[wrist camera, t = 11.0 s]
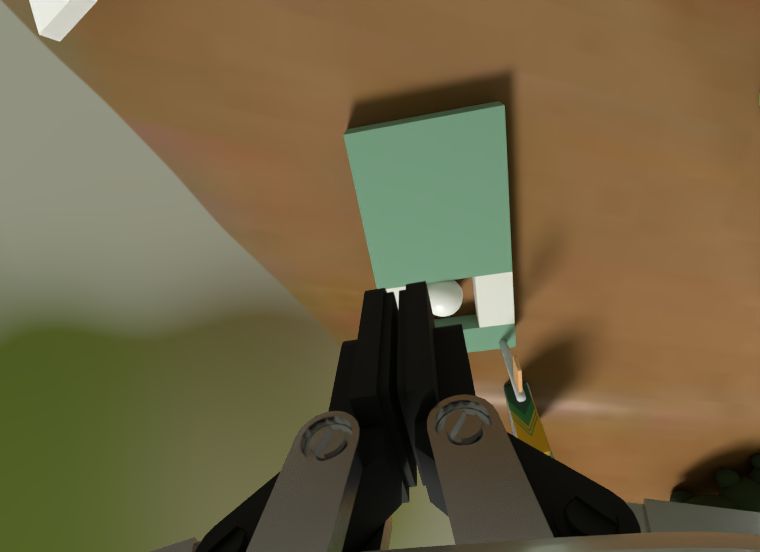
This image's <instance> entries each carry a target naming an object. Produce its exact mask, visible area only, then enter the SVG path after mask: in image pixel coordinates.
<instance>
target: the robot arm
mask: <svg viewBox="0 0 760 552" xmlns="http://www.w3.org/2000/svg"><path fill="white" fill-rule="evenodd" d="M416 463H417V465H416ZM417 466H418V469H419V473H420V477H421V480H422V484H423V485H424V486H425V485H426V488H427V491H428V495H429V499H430V502H432V503H433V504H434V505H435V506H436V507H438V508H439V509H440V510H441V511H442V512H444V513H445V514H446V515H447V516H448V517H449V519H450V524H451V528H452V532H453V536H454V540H455V544H456V545H446V546H434V547H433V546H432V547H419V548H405V549H392V550H389V544H390V538H391V532H392V518H391V515H392V514H393V513H394V512H395V511H396V509H398V507H400V505H401V504H402V503H406V502H409V487H415V486H417ZM151 552H760V512H752V511H743V510H735V509H727V508H719V507H710V506H702V505H694V504H685V503H677V502H669V501H660V500H652V499H644V501H643V504H636V503H628V502H624V500H622V499H621V498H620V497H618V496H617V495H615V494H614V493H613V492H611V491H610V490H608V489H606V488H605V487H603V486H601V485H599V484H597V483H596V482H594V481H592V480H590V479H589V478H587V477H585V476H583V475H582V474H580V473H578V472H576V471H575V470H573V469H571V468H569V467H568V466H566V465H564V464H562V463H560V462H559V461H557V460H555V459H553V458H552V457H550V456H548V455H546V454H545V453H543V452H541V451H539V450H538V449H536V448H534V447H532V446H531V445H529V444H527V443H525V442H524V441H522V440H520V439H518V438H516V437H515V436H513V435H511V434H509V433H508V432H506V430H505V428H504V425H503V423H502V421H501V419H500V417H499V414H498V412H497V411H496V409H495V408H494V407H493V405H492V404H490V403H489V402H488V401H486V400H485V399H483V398H480V397H477V396H476V395H475V390H474V385H473V380H472V374H471V369H470V364H469V359H468V354H467V348H466V343H465V338H464V333H463V328H462V324H456V325H449V326H443V327H435V322H434V317H433V313H432V308H431V303H430V298H429V293H428V288H427V284H426V281H422V282H416V283H410V284H406V290H400V291H399V308H398V306H397V302H396V298H395V295H394V292H388V293H387V291H386V289H385V288H381V289H375V290H369V291H365V293H364V300H363V307H362V313H361V320H360V326H359V333H358V340H351V341H344V342H343V344H342V347H341V352H340V357H339V362H338V367H337V372H336V377H335V382H334V387H333V392H332V397H331V403H330V407H329V412H325V413H323V414H320V415H317V416H315V417H314V418H312V419H311V420H309V421H308V422H307V423H306V424H305V425H304V426H303V427H302V428H301V429H300V430H299V432H298V434H297V435H296V437H295V439H294V441H293V444H292V446H291V448H290V451H289V453H288V455H287V458H286V460H285V462H284V464H283V467H282V469H281V471H280V472H279V473H278V474H277V475H276V476H274V477H273V478H272V479H271V480H270V481H268V482H267V483H266V484H265V485H264V486H262V487H261V488H260V489H259V490H258V491H256V492H255V493H254V494H253V495H252V496H250V497H249V498H248V499H247V500H246V501H244V502H243V503H242V504H241V505H240V506H239V507H237V508H236V509H235V510H234V511H232V512H231V513H230V514H229V515H227V516H226V517H225V518H224V519H223V520H222V521H220V522H219V523H218V524H217V525H215V526H214V528H212V529H211V530H210V532H208V533H207V534H206V536H205V537H204V538H203V540H202V541H199V542H198V541H197V539H196V538H195V537H193V538H190V539H187V540H184V541H181V542H178V543H175V544H172V545H169V546H166V547H163V548H160V549H157V550H154V551H151Z"/></svg>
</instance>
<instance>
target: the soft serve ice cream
mask: <svg viewBox="0 0 760 552" xmlns="http://www.w3.org/2000/svg"><path fill="white" fill-rule="evenodd" d="M97 1H98V0H29V2H30V5H31V9H32V12H33V15H34V19H35V22H36V26H37V29H38V32H39V35H42V36H45V37H48V38H51V39H54V40H56V41H59V42H60V41H61V40H62V39H63V38H64V37H65V36H66V35H67V33H68V32H69V31H70V30H71V29H72V28H73V27H74V26H75V25H76V24H77V23H78V22H79V20H80V19H81V18H82V17H83V16H84V15H85V14H86V13H87V12H88V11H89V10H90V9H91V7H92V6H93V5H94V4H95V3H96V2H97Z"/></svg>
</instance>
